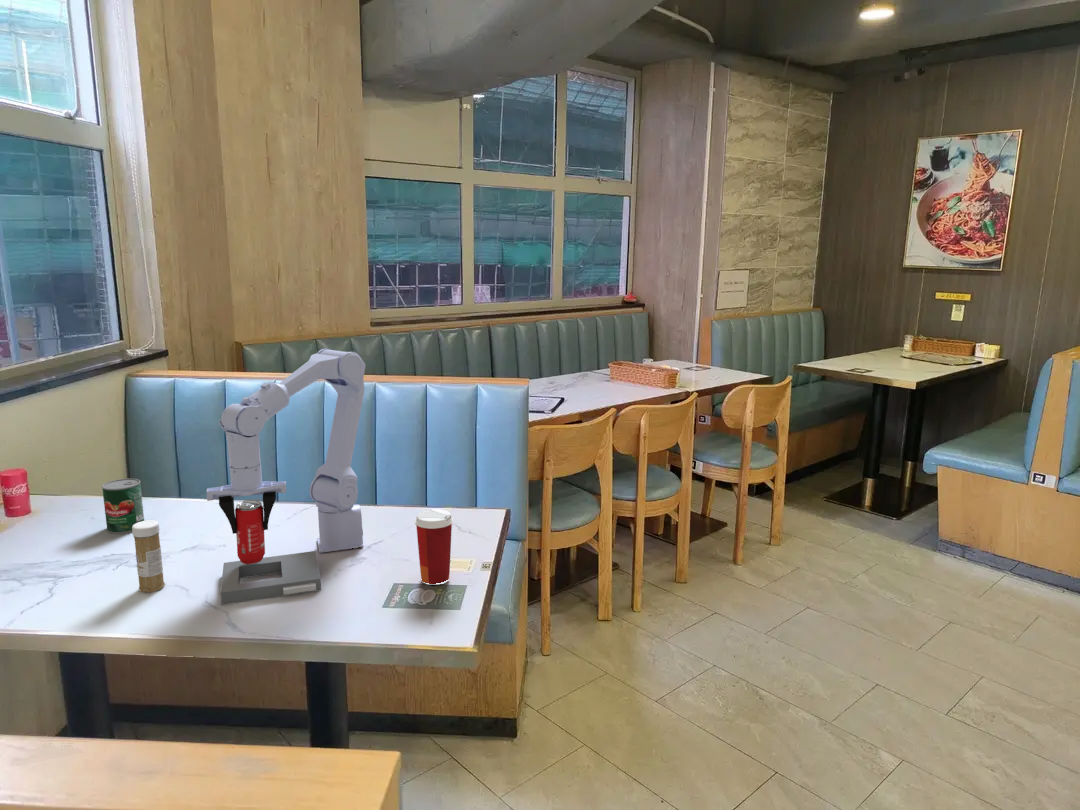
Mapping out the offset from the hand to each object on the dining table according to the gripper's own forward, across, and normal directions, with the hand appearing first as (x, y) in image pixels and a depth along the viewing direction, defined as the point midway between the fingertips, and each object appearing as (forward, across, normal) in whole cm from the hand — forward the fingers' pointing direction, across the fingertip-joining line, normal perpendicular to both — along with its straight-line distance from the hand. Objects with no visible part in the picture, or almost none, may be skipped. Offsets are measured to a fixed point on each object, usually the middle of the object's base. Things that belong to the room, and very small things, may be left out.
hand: (250, 529), depth 144 cm
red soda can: (+7, 0, +1) cm, 7 cm away
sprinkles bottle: (+11, -19, +2) cm, 22 cm away
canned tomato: (+11, -29, +39) cm, 50 cm away
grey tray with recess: (+10, +3, -3) cm, 11 cm away
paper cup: (+11, +34, -13) cm, 38 cm away
